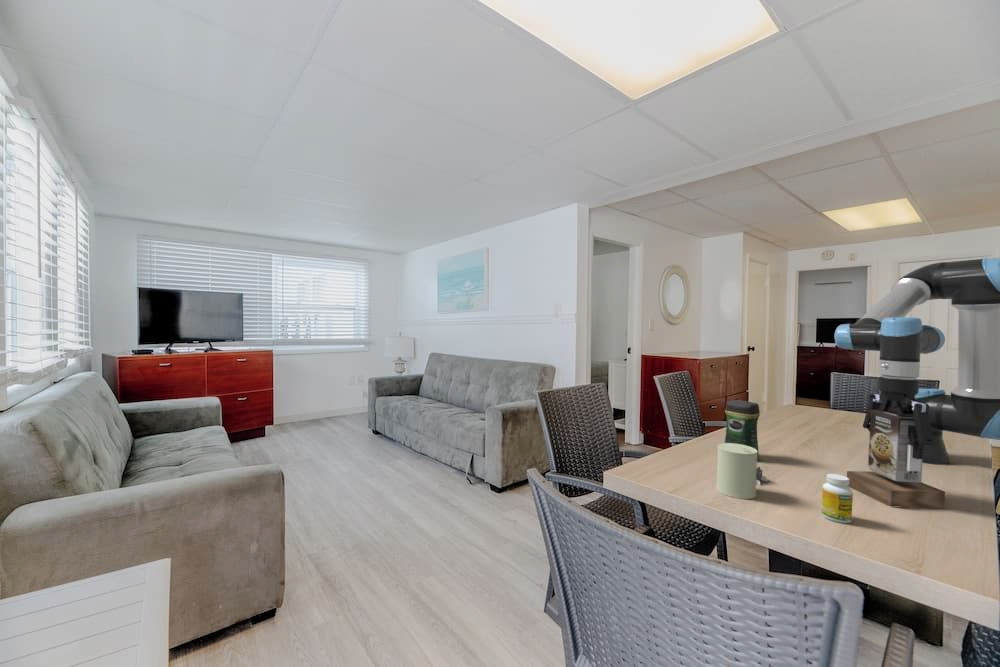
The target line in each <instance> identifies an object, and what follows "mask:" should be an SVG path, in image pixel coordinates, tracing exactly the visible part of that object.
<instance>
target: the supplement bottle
mask: <svg viewBox="0 0 1000 667" xmlns="http://www.w3.org/2000/svg"><path fill="white" fill-rule="evenodd" d="M825 480H826V482H825V483H823V484H822V490H821V492H822V493H821V495H822V496H821V498H822V499H821V514H822V516H823V517H824V518H825V519H827V520H829V521H832V522H834V523H839V524H850V523H851V522H852V517H853V513H852V512H853V498H854V497H853V496H854V494H853V492H854V491H853V489H852V488H851V487H849V486H848V485H849V478H847V476H846V475H845V476H844V475H842V474H836V473H828V474H826V479H825Z"/></svg>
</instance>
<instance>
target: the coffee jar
mask: <svg viewBox="0 0 1000 667" xmlns="http://www.w3.org/2000/svg"><path fill="white" fill-rule="evenodd" d="M724 412H725V416H726V430H725V438H724V443H735V444H741V445H746V446H749V447H752V448H754V449H756V450H757V451H758V453H757V459H758V458H759V455H760V454H759V453H760V452H759V441H758V421H759V419H760V415H761V411H760V406H759V403H758V402H757V403H756V402H752V401H746V400H741V399H729V400H727V401H726V404H725V410H724Z"/></svg>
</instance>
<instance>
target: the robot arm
mask: <svg viewBox="0 0 1000 667" xmlns="http://www.w3.org/2000/svg"><path fill="white" fill-rule="evenodd" d="M931 300H951V301H950V302H951V306H952V307H953V308H955V309H957V311H958V342H957V345H958V347H957V348H958V349H957V350H958V351H957V354H958V355H957V357H958V359H957V360H958V361H957V364H958V365H957V366H958V367H957V386H956V387H955V388H953V389H952V390H950V394H947V393H946V391H945V389H940V388H920V381H919V379H917V378H920V371H921V370H920V365H921V354H924V355H928V354H931V353H935V352H937V351H939V350H941V349H942V347H943V346H944V345H945V343H946V337H945V333H944V332H942V331H941V329H939V328H937V327H936V326H931V325H928V324H923V322H922V319H921V318H919V317H908V316H907V315H908V314H909V313H910V312H911V311H912V310H913V309H914V308H915V307H916V306H919V305H922V304H924V303H926V302H927V301H931ZM906 316H907V317H906ZM834 331H835V332H834V334H833V335H834V342H835V344H836V346H837V347H839V349H844V350H852V351H855V350H857V351H873V352H879V362H878V363H879V364H878V366H879V367H878V374H879V375H880V376H879V377H878V378H877V380H878V382H877V390H878V391H880V394H878V393H877V394H876V393H874V394H873V393H869V395H868V401H869V402H868V405H867V409H866V413H865V416H864V420H863V422H862V427H863V428H864V429H867V430H868V432H869V433H870V416H871V410H878V411H881V412H893V413H895V414H898V416H901V417H910V418H914V420H915V425H916V426H911V425H909V426H908V436H909V439H910V441H911V443H908V446H907V466H906V470H907V471H920V468H921V459H923V463H926V464H936V465H946V464H949V463H950V454H949V452H947V448H946V445H945V442H944V438H943V431H945V432H948V433H949V432H950V433H956V434H960V435H961V434H962V435H966V436H971V437H976V438H977V437H978V438H980V439H989V440H995V441H997V440H998V441H1000V257H985V258H978V259H976V258H975V259H967V260H958V261H957V260H956V261H944V262H943V261H942V262H935V263H930V264H928V265H924V266H921V267H919V268H917V269H915V270H912V271H911V272H909V273H907V274H905V275H903V276H901V278H899V279H898V280H896V281H895V282H894V283H893V284H892V285H891V288H890V291H889V293H887V294H886V295H885V296H884V297H883V298H882V299H881V300H879V301H878V302H877V303H876V304H875V305H873V307H872V308H871V309H869V310H868V311H867V312H866V313H865V314H864V315H862V316H861V317H860V319H858V320H857V321H856V322H855V323H844V324H840V325H838V326H837V327H836V329H835V330H834ZM917 439H918V440H917ZM948 462H949V463H948Z"/></svg>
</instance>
